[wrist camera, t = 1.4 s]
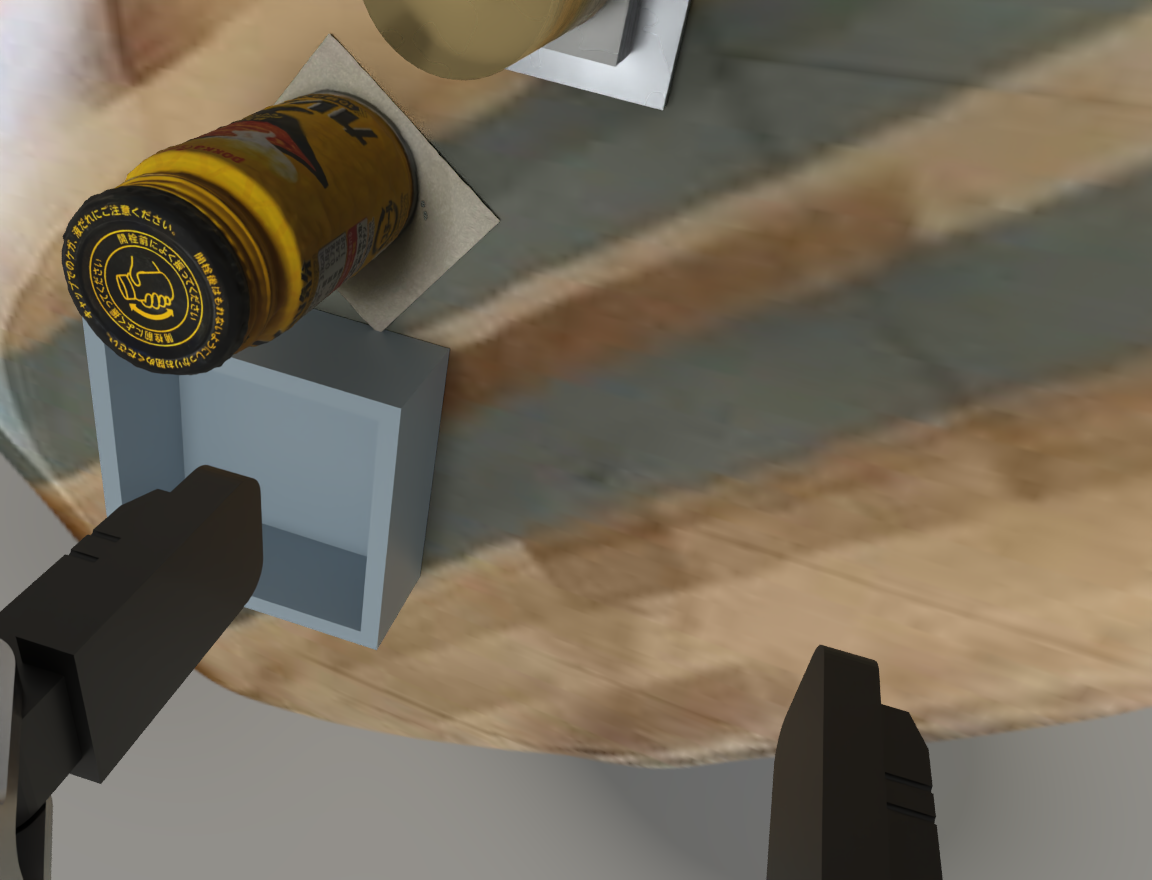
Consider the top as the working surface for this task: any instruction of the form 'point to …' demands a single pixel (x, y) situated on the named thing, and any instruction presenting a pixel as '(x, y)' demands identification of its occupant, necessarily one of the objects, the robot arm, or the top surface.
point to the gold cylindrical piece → (503, 32)
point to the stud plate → (638, 73)
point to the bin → (296, 458)
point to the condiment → (270, 225)
